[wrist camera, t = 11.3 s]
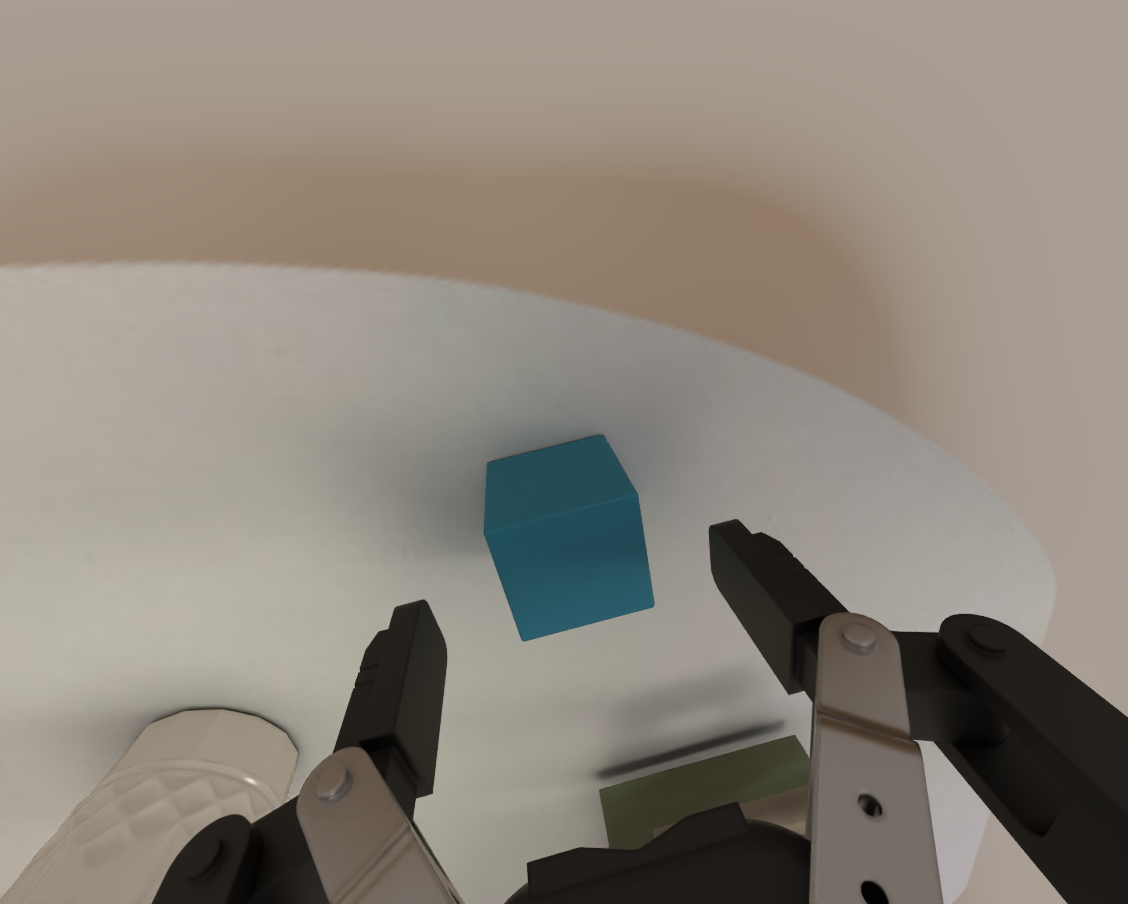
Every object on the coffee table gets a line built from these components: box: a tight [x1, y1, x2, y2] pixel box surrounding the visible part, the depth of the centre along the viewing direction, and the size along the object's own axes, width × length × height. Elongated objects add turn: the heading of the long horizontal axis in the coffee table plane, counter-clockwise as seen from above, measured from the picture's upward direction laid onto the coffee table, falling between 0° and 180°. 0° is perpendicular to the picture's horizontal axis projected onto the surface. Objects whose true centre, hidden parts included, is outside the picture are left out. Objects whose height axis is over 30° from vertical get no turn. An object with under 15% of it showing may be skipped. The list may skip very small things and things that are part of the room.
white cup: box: [0, 709, 298, 904], centre depth 16 cm, size 8×8×10 cm
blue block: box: [484, 435, 655, 641], centre depth 15 cm, size 4×4×4 cm
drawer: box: [599, 735, 810, 850], centre depth 23 cm, size 18×11×8 cm, turn 12°
